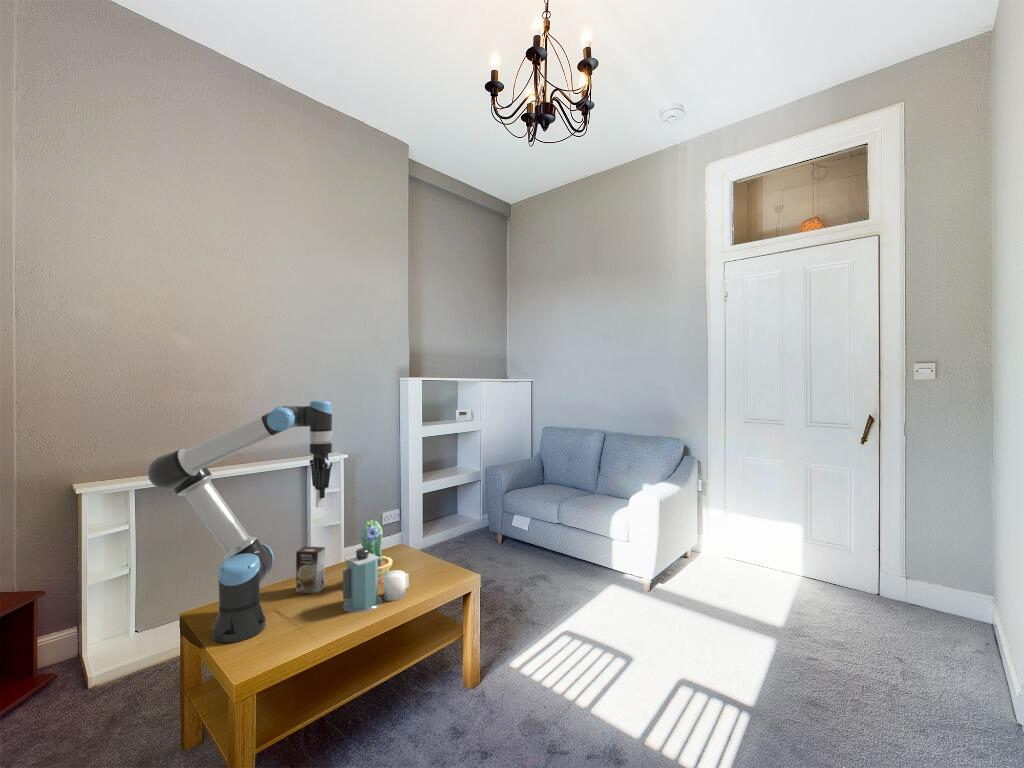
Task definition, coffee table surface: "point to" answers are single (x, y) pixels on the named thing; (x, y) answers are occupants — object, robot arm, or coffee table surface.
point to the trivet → (363, 609)
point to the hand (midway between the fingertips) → (320, 506)
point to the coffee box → (310, 569)
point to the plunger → (362, 553)
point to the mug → (395, 585)
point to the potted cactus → (375, 546)
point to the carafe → (361, 582)
